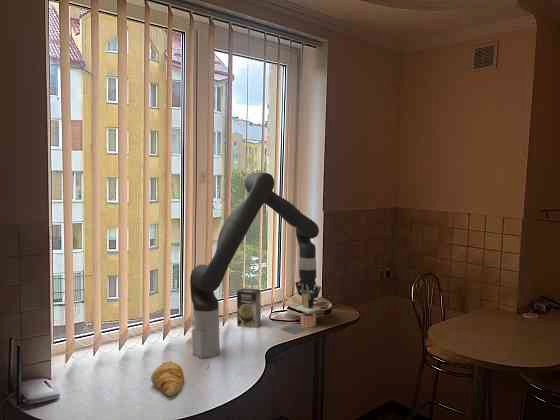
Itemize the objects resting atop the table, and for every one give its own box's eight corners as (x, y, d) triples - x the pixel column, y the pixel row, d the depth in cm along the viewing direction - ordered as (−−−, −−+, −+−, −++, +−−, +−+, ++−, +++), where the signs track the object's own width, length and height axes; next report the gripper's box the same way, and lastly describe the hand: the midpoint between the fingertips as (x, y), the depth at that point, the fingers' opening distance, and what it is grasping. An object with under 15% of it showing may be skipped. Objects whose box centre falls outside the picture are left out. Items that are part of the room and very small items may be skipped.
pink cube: (308, 329, 200) (308, 318, 200) (297, 325, 205) (297, 314, 205) (318, 325, 205) (318, 314, 204) (307, 322, 209) (307, 311, 209)
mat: (294, 335, 193) (294, 334, 193) (280, 330, 199) (280, 329, 199) (308, 330, 199) (308, 329, 199) (294, 325, 205) (294, 324, 205)
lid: (308, 312, 199) (308, 297, 198) (295, 309, 204) (295, 293, 204) (320, 309, 204) (320, 293, 203) (307, 305, 210) (307, 290, 209)
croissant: (181, 408, 143) (193, 384, 143) (150, 398, 140) (163, 374, 140) (173, 377, 163) (183, 356, 163) (146, 368, 159) (156, 347, 160)
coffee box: (236, 327, 204) (236, 291, 202) (242, 323, 210) (241, 287, 208) (256, 329, 201) (255, 292, 200) (261, 324, 207) (260, 289, 206)
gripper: (290, 266, 205) (290, 305, 207) (313, 271, 195) (313, 311, 196) (302, 263, 210) (302, 301, 212) (325, 268, 200) (325, 308, 202)
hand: (308, 306), depth 204 cm, fingers closed on lid, 3 cm apart
